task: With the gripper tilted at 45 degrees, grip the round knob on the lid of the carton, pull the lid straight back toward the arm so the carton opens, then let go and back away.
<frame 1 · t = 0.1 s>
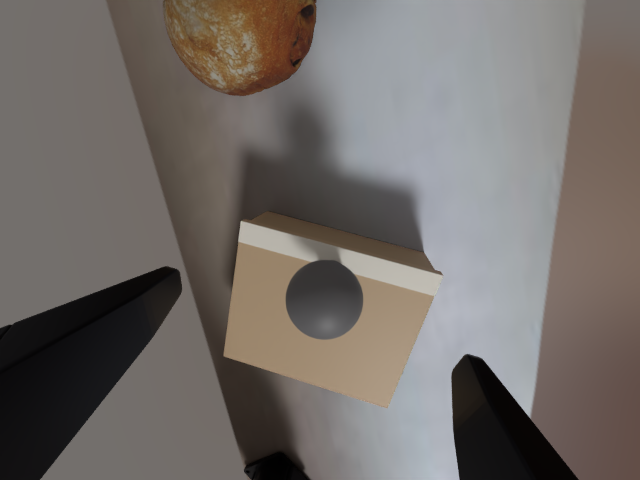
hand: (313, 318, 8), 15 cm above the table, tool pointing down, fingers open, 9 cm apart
lid: (312, 343, 18), point 8 cm above the table, slide at 0.0 cm
carton: (327, 290, 25), on the table
bread roll: (254, 24, 20), on the table
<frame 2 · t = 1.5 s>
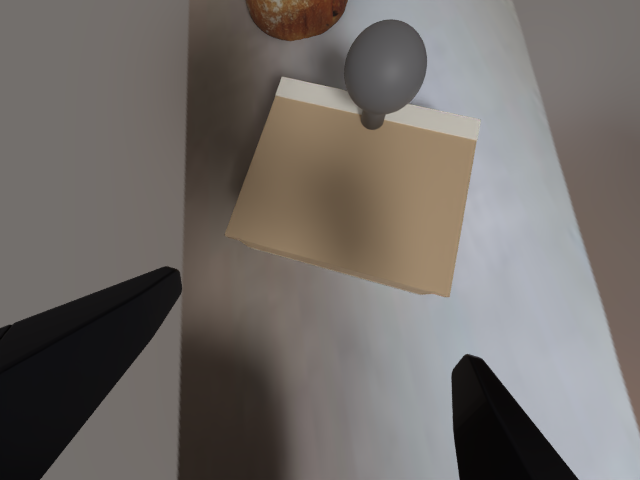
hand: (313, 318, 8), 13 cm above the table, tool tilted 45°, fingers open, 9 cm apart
lid: (363, 149, 15), point 8 cm above the table, slide at 0.0 cm
carton: (350, 202, 23), on the table
bread roll: (300, 7, 28), on the table
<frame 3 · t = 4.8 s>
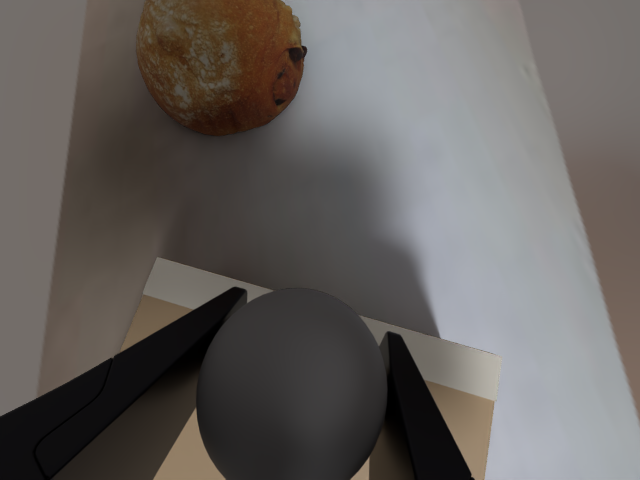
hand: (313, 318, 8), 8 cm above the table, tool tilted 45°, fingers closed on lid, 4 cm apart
bread roll: (237, 80, 20), on the table
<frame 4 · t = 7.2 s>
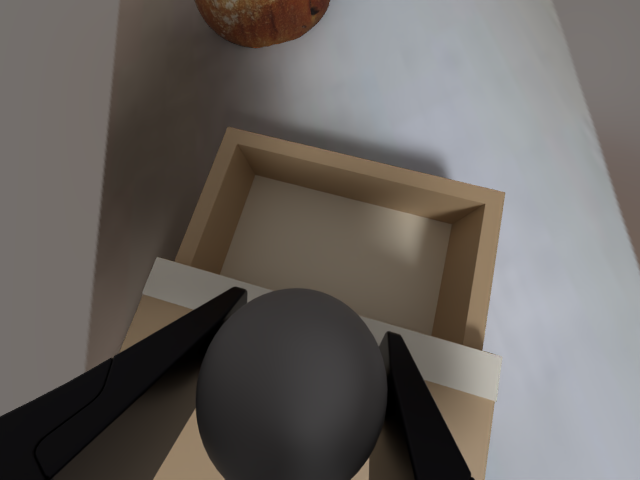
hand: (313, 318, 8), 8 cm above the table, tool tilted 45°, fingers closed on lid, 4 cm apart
carton: (328, 281, 16), on the table
bread roll: (270, 2, 21), on the table
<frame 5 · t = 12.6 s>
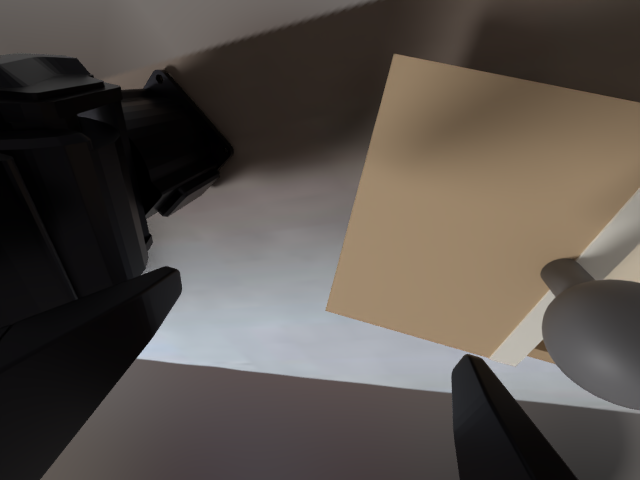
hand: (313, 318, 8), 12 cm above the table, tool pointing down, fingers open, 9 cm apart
lid: (491, 286, 11), point 8 cm above the table, slide at 7.5 cm
carton: (569, 237, 17), on the table
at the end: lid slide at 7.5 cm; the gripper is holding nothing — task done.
